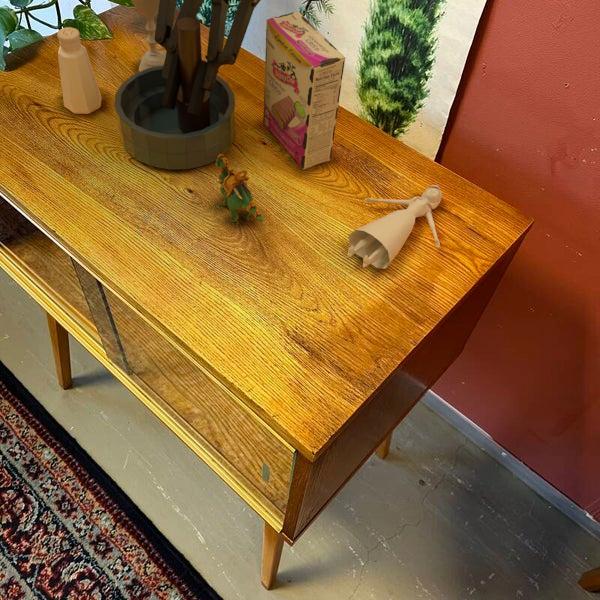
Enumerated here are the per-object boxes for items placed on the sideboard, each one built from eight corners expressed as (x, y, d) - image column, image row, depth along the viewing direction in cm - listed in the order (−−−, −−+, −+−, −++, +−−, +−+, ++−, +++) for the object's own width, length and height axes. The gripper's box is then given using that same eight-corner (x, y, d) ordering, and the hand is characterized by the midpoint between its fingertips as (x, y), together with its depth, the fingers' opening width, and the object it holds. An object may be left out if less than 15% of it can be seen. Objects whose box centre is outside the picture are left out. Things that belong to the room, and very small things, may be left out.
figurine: (228, 184, 87) (227, 134, 81) (273, 245, 82) (276, 196, 75) (206, 191, 86) (204, 141, 80) (251, 253, 80) (252, 205, 74)
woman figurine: (321, 219, 78) (405, 156, 88) (315, 246, 82) (398, 182, 92) (401, 273, 74) (480, 200, 84) (392, 298, 78) (469, 226, 88)
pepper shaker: (96, 88, 97) (82, 17, 89) (107, 109, 95) (94, 38, 86) (59, 96, 96) (41, 25, 87) (69, 118, 93) (52, 47, 84)
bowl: (103, 161, 88) (96, 124, 83) (143, 92, 98) (138, 56, 93) (217, 183, 87) (216, 147, 83) (246, 112, 97) (247, 76, 92)
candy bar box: (260, 125, 95) (264, 17, 82) (290, 115, 97) (298, 8, 84) (301, 173, 90) (312, 66, 77) (332, 162, 92) (348, 55, 79)
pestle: (174, 132, 90) (164, 29, 78) (183, 112, 93) (176, 10, 81) (205, 138, 90) (200, 36, 78) (214, 118, 93) (211, 17, 81)
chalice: (162, 50, 104) (150, -70, 90) (188, 70, 102) (180, -50, 87) (122, 66, 101) (103, -56, 87) (148, 88, 98) (133, -34, 84)
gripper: (293, -53, 84) (245, 130, 88) (176, -80, 86) (135, 101, 90) (282, -80, 77) (231, 121, 80) (155, -109, 79) (110, 89, 82)
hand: (180, 110), depth 85 cm, fingers closed on pestle, 3 cm apart
